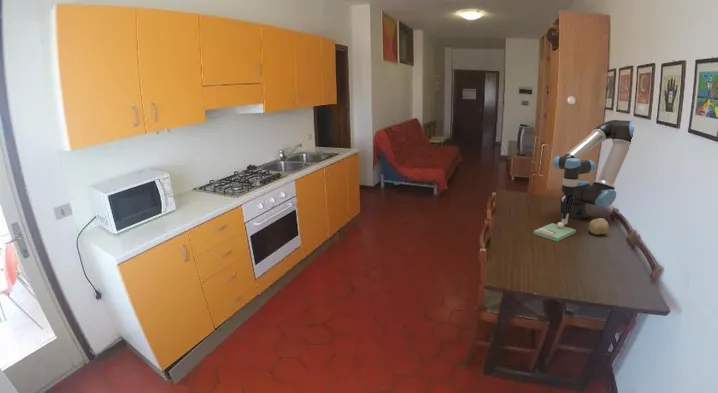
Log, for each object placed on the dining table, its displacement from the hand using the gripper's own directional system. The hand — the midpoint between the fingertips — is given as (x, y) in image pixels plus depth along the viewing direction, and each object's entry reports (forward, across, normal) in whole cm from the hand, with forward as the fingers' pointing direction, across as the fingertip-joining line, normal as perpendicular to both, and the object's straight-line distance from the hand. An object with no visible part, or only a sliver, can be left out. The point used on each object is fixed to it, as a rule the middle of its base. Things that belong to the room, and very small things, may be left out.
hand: (564, 223), depth 216 cm
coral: (+4, -8, +15) cm, 17 cm away
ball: (0, +4, 0) cm, 4 cm away
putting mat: (+4, +10, 0) cm, 11 cm away
